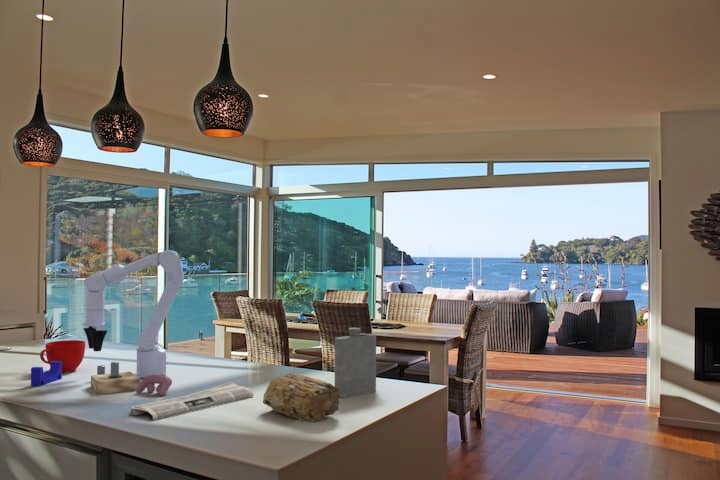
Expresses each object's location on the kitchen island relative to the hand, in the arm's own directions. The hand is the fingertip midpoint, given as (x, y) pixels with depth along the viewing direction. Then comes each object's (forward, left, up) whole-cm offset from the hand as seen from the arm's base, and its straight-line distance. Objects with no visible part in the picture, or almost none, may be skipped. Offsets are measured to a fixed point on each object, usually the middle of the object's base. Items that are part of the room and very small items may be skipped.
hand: (94, 349), depth 213 cm
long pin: (-2, +21, -9) cm, 23 cm away
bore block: (-2, +21, -9) cm, 23 cm away
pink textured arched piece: (-10, +35, -10) cm, 37 cm away
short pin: (-1, +5, -9) cm, 11 cm away
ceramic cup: (+8, -17, -10) cm, 21 cm away
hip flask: (-61, +68, -10) cm, 92 cm away
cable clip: (+15, 0, -10) cm, 18 cm away
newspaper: (-16, +54, -10) cm, 57 cm away
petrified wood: (-36, +81, -10) cm, 89 cm away
